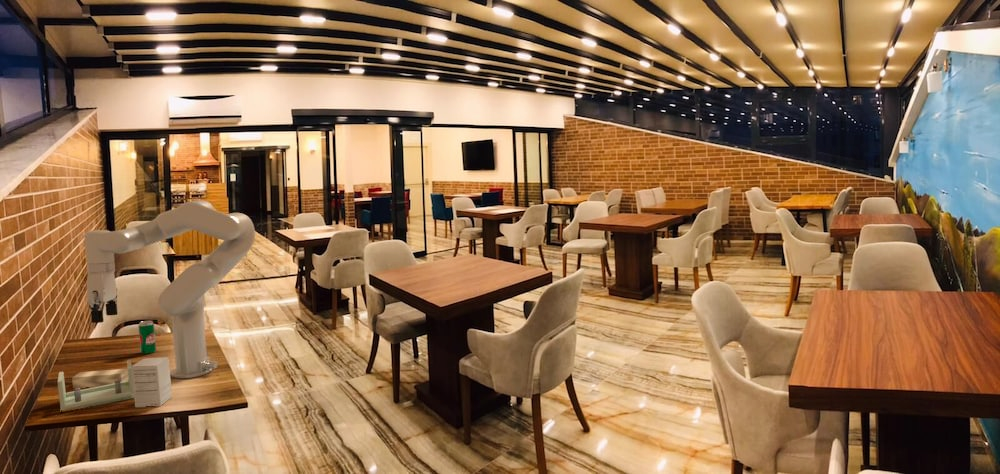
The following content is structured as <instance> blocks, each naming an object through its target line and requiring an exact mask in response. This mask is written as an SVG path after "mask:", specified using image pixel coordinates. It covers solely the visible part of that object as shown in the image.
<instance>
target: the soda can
mask: <svg viewBox="0 0 1000 474" xmlns="http://www.w3.org/2000/svg"><path fill="white" fill-rule="evenodd" d="M137 326H138V337H139V347H140V348H139V349H140V353H141V354H143V355H148V354H154V353H155V352H156V351H157V344H156V331H155V323H154V321H153V320H144V321H140V322H139V324H138V325H137Z"/></svg>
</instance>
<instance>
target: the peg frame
mask: <svg viewBox="0 0 1000 474" xmlns="http://www.w3.org/2000/svg"><path fill="white" fill-rule="evenodd" d="M131 366H133V365H132V361H131V359H128V360H126V367H127V368H126V369H128V378H129V379H128V380H127V381H125V382H120V380H116V381H115V383H114V384H109V385H104V386H99V387H89V388H82V389H81V388H75V389H73V391H69V392H66V384H65V374H64V371H59V372H58V378H57V389H58V397H59V405H60V406H59V407H60V410H59V411H61V410H67V409H73V408H80V407H88V406H93V407H96V406H97V405H98V406H102V405H107V404H111V403H116V402H120V401H127V400H130V399H134V391H133V381H132V370H131ZM88 408H89V407H88Z"/></svg>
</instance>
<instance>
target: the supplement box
mask: <svg viewBox="0 0 1000 474" xmlns="http://www.w3.org/2000/svg"><path fill="white" fill-rule="evenodd" d="M131 370H132V381H133V391H134V398H133V399H134V408H147V407H146V406H156V407H162V406H163V405H162V404H166V402H167V401H169V400H170V399H171V398H172V397H173V391H172V382H171V381H172V380H171V368H170V360H169V357H165V356H163V357H147V358H143V359H141V360H140V361H137V362H136V363H134V364H133V365H132V366H131Z"/></svg>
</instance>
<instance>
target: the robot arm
mask: <svg viewBox="0 0 1000 474" xmlns="http://www.w3.org/2000/svg"><path fill="white" fill-rule="evenodd" d="M192 230H193V231H196V232H198V233H200V234H201V233H202V234H204V235H207V236H209V237H212V238H215V239H218V240H222V242H221V243H220V244H218V246H217V247H215V248H214V250H212V252H210V254H208V255H207V257H205V258H203V259H202V260H200V261H198V262H195V263H193V264H191V265H189V266H188V267H187V268H186V269H184V270H183V271H182V272H181V273H180V274H179V275H178V276H177V277H176V278H174V279H173V281H171V283H169V285H168V286H166V288H164V290H162V292H161V293H160V295H159V297H158V300H157V301H158V303H157V304H158V306H159V309H160V311H161V312H163V314H165V315H166V316H167V315H168V316H170V317H171V316H172V318H171V325H172V336H173V337H172V338H173V346H174V347H173V349H174V360H175V368H174V369H173V370H172V371H170V377H172V378H175V379H191V378H196V377H197V378H198V377H200V376H203V375H206V374H209V373H210V372H212V371H213V369H217V367H218V360H211V356H208V354H207V353H208V352H207V342H206V341H207V339H206V329H205V328H206V326H205V300H206V299H205V294H206V293H207V292H209V290H210V289H212V288H214V287H216V286H217V285H219V283H221V281H222V280H223V279H224V278H225V277H226V276H227V275H229V274H230V272H231V271H232V270H233V269H234V268H235V267H236V266H237V265H238V264H239V263H240V262H241V261H242V260H243V259H244V258H245V256H247V254H248V253H249V252H250V250H251V248H252V247H253V244H254V241H255V237H256V231H255V230H256V229H255V226H254V223H253V221H252V219H251V218H250V217H249V216H248V215H246V214H244V213H240V212H232V213H225V212H222V211H218V210H216V209H215V208H214V206H213V204H212V203H210V202H209V201H207V200H202V199H199V200H198V199H197V200H190V201H186V202H184V203H183V204H181V205H180V206H178V207H176V208H173V209H169V210H167V211H163V212H162V213H159V214H158V215H157V216H156V218H154V219H152V220H150V221H146V222H145V223H142V224H138V225H136V226H133V227H129V228H123V229H120V230H119V229H117V230H112V231H110V230H108V229H100V230H99V229H96V230H95V229H94V230H89V231H86V232H85V233H84V248H85V251H84V252H85V259H86V260H85V261H86V273H87V278H86V299H87V300H86V301H87V304H88V307H89V311H90V317H91V323H92V324H95V323H97V324H99V323H103V322H104V312H103V311H104V310H103V309H102V308H103V305H104V304H105V314H106V316H117V315H118V299H117V298H118V288H117V283H116V276H115V272H116V265H115V254H125V253H129V252H132V251H136V250H140V249H142V248H143V249H144V248H145V247H148V246H150V245H154V244H156V243H159V242H161V241H163V240H166V239H167V240H168V239H172V238H173V237H177V236H179V235H182V234H184V233H187V232H189V231H192Z"/></svg>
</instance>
